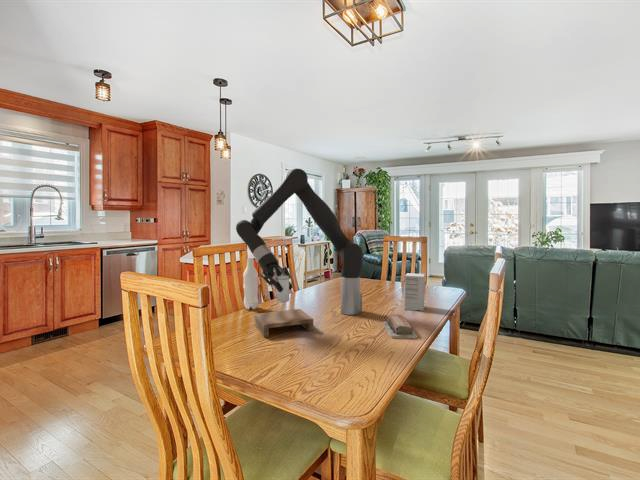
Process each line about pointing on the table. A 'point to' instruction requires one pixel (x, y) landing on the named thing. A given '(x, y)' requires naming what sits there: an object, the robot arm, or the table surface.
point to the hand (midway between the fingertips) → (286, 289)
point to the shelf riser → (282, 320)
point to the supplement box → (414, 291)
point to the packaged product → (398, 327)
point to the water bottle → (250, 285)
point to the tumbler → (284, 283)
